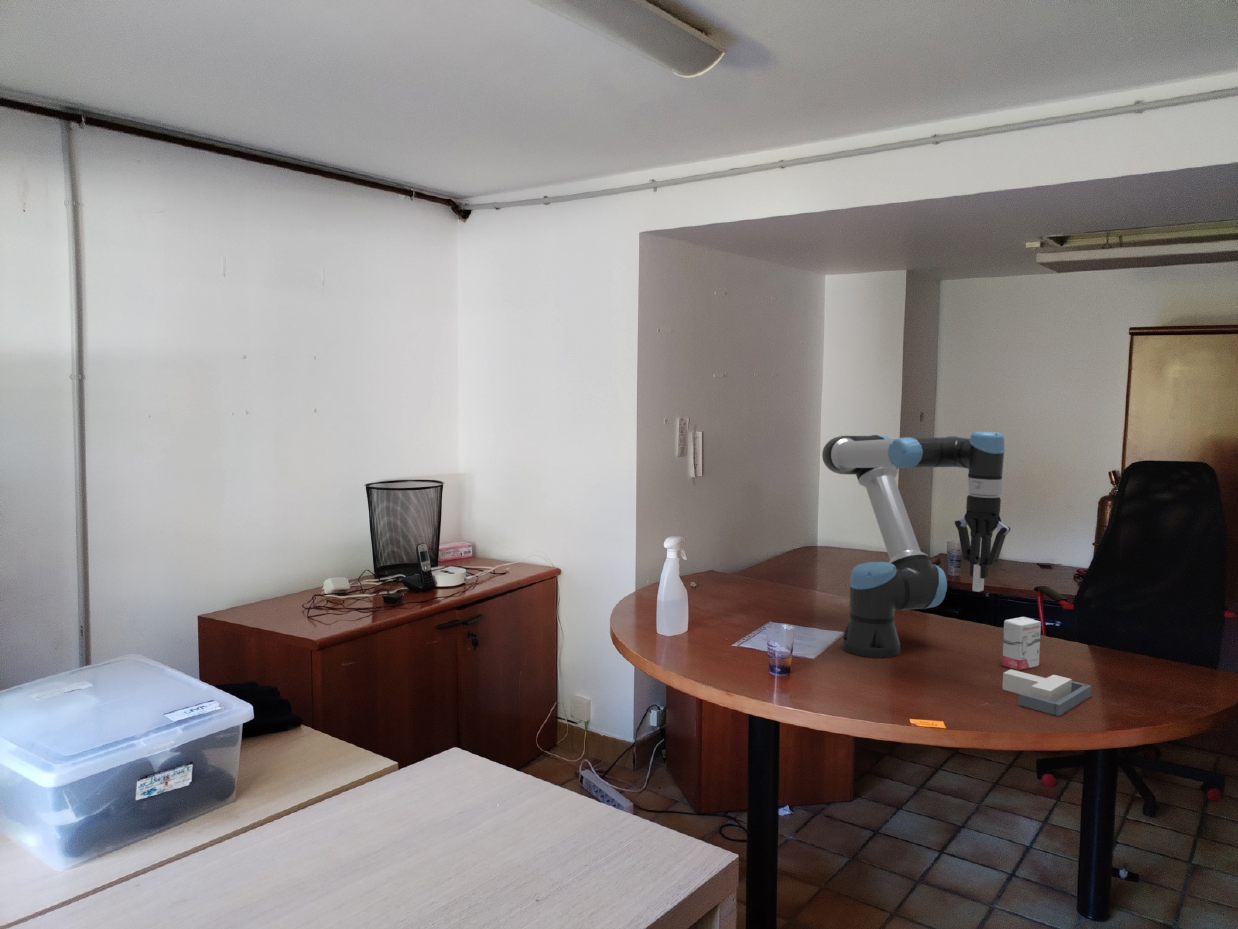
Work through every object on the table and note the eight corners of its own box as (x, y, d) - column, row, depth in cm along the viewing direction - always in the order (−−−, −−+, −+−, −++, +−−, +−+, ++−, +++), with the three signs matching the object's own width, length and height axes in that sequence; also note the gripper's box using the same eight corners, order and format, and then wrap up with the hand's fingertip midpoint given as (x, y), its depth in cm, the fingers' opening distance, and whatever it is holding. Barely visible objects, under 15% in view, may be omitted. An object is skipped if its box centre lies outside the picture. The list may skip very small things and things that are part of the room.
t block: (994, 693, 182) (995, 676, 182) (1017, 681, 190) (1017, 665, 190) (1049, 708, 173) (1050, 691, 173) (1070, 696, 181) (1071, 679, 181)
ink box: (1018, 671, 198) (1020, 625, 197) (1000, 665, 202) (1002, 620, 201) (1039, 666, 202) (1042, 620, 201) (1022, 660, 206) (1024, 616, 205)
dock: (1018, 705, 175) (1019, 694, 175) (1052, 686, 187) (1052, 676, 187) (1058, 716, 169) (1059, 705, 169) (1090, 696, 181) (1091, 685, 181)
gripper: (950, 493, 194) (944, 587, 196) (1003, 500, 184) (997, 598, 186) (965, 491, 198) (959, 582, 201) (1018, 497, 188) (1011, 593, 191)
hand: (977, 590), depth 193 cm, fingers closed
